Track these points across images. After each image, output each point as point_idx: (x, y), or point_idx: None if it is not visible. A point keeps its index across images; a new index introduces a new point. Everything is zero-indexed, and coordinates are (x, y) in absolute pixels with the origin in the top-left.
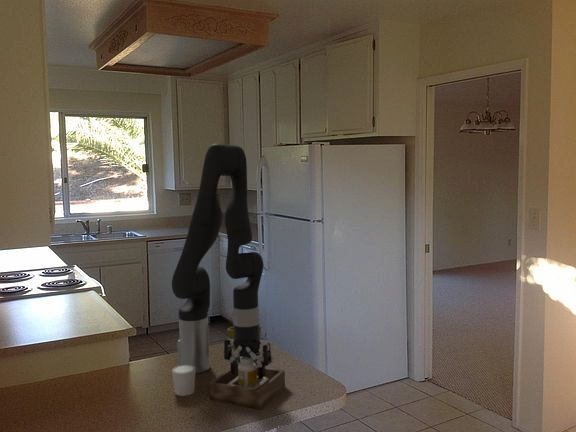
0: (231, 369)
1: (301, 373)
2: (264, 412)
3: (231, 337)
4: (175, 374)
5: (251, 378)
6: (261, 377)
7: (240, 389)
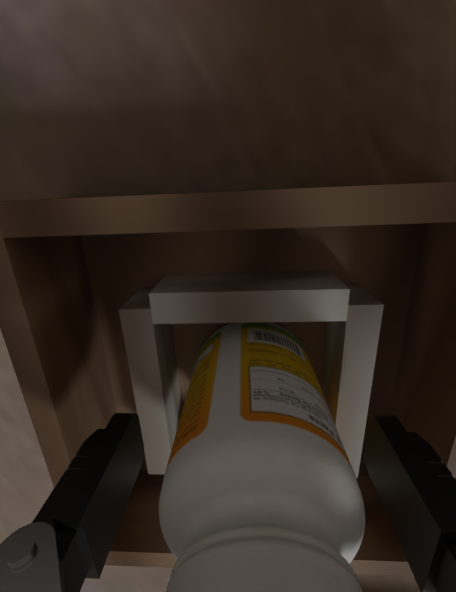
0: (429, 457)
1: (136, 573)
2: (20, 176)
3: None
4: None
5: (189, 399)
6: (106, 428)
7: (174, 194)
